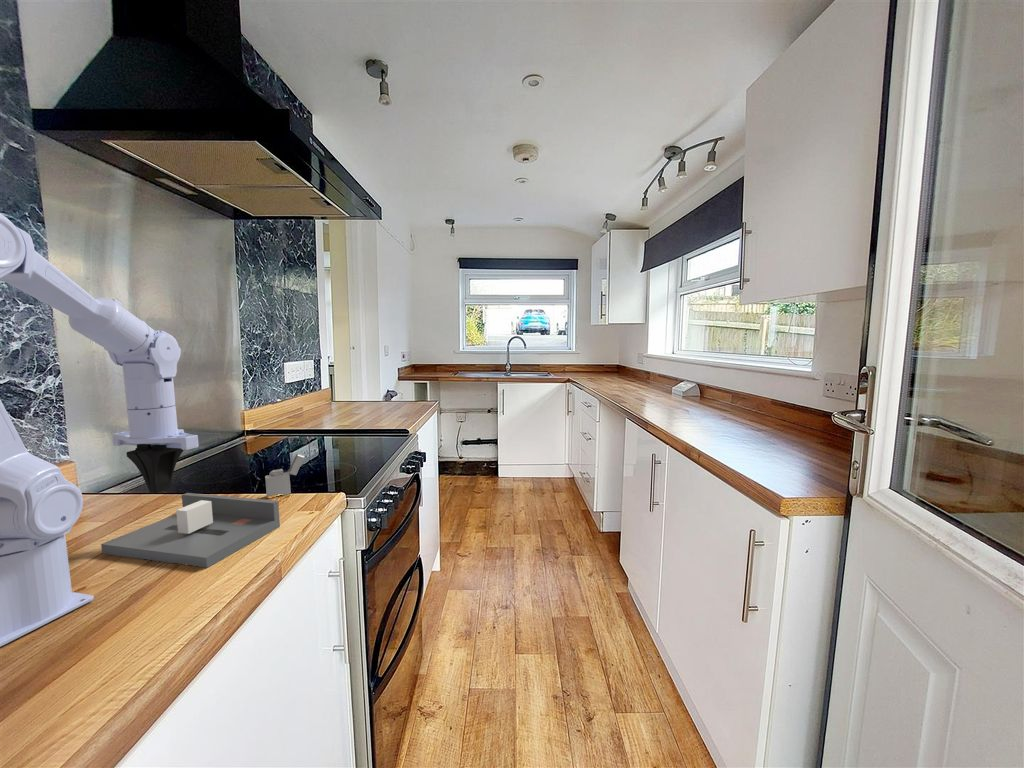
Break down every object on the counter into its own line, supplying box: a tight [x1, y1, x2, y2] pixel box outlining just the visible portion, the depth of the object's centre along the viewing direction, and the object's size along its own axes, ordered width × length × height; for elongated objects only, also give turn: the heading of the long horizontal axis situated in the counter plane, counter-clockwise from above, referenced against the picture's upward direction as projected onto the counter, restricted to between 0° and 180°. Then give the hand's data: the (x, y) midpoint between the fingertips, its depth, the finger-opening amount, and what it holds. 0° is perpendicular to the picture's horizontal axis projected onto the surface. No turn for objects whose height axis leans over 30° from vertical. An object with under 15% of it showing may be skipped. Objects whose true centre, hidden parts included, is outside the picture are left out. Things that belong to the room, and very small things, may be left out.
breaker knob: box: [175, 500, 213, 534], centre depth 63 cm, size 4×2×4 cm, turn 168°
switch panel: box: [100, 492, 281, 569], centre depth 63 cm, size 13×19×4 cm
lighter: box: [264, 452, 305, 498], centre depth 83 cm, size 7×2×8 cm, turn 127°
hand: (160, 490), depth 64 cm, fingers closed
